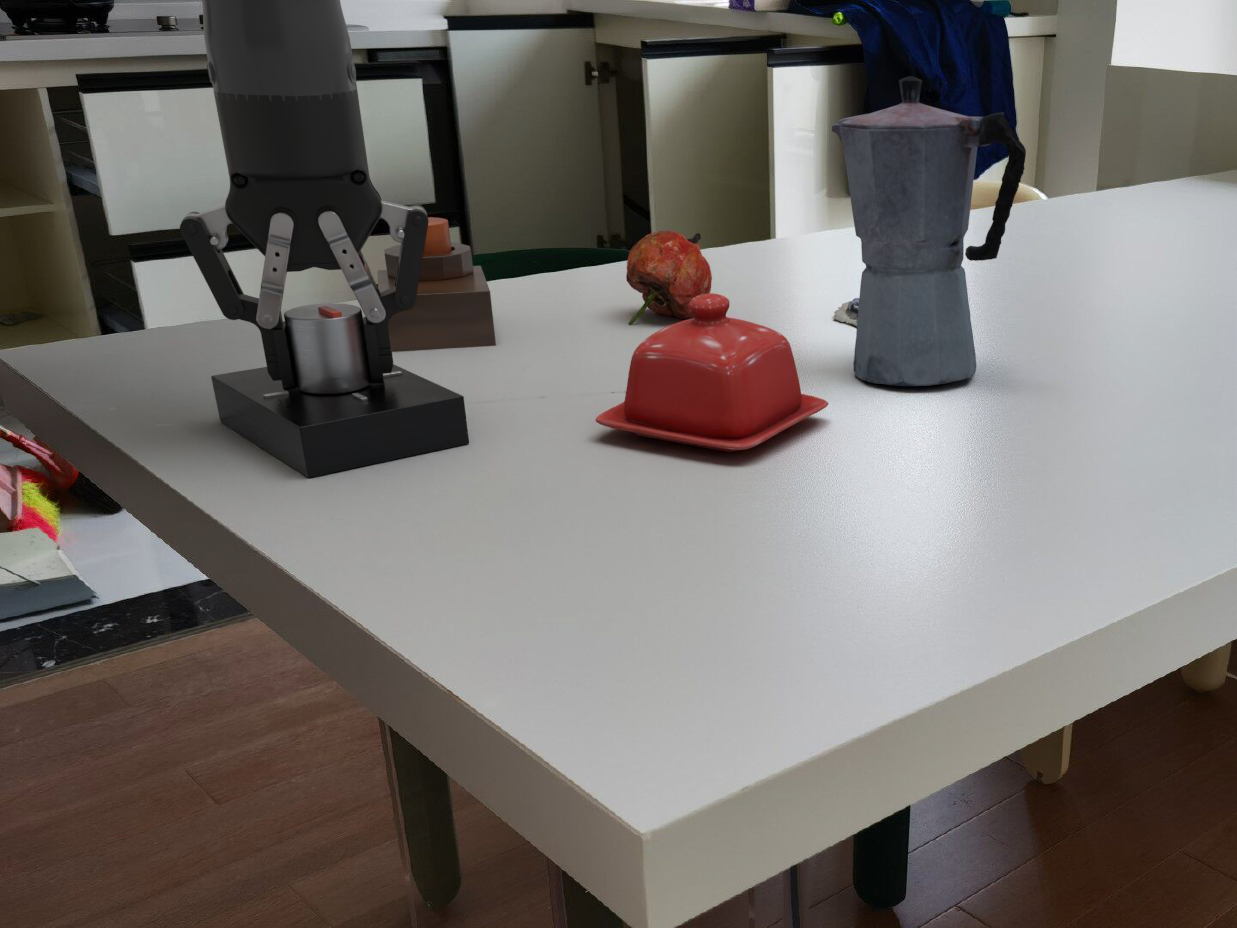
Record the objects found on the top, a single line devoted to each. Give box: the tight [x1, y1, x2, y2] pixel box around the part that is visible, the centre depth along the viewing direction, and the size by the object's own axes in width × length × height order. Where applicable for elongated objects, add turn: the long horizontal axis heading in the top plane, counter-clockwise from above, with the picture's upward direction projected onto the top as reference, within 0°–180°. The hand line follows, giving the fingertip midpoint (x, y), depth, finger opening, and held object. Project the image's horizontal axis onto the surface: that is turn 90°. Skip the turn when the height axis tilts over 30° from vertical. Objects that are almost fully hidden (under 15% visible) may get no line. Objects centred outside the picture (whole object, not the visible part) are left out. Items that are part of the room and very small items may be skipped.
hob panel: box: [210, 363, 470, 479], centre depth 86 cm, size 14×10×3 cm
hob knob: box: [283, 302, 372, 394], centre depth 85 cm, size 4×4×5 cm
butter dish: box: [595, 292, 829, 453], centre depth 87 cm, size 12×12×8 cm
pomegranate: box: [625, 230, 713, 326], centre depth 114 cm, size 7×7×10 cm
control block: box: [377, 242, 497, 353], centre depth 109 cm, size 11×8×6 cm
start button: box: [423, 216, 452, 255], centre depth 109 cm, size 4×4×2 cm
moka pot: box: [831, 75, 1027, 387], centre depth 97 cm, size 10×15×20 cm, turn 59°
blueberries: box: [832, 297, 860, 327], centre depth 117 cm, size 7×8×2 cm
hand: (333, 382), depth 86 cm, fingers closed on hob knob, 4 cm apart
